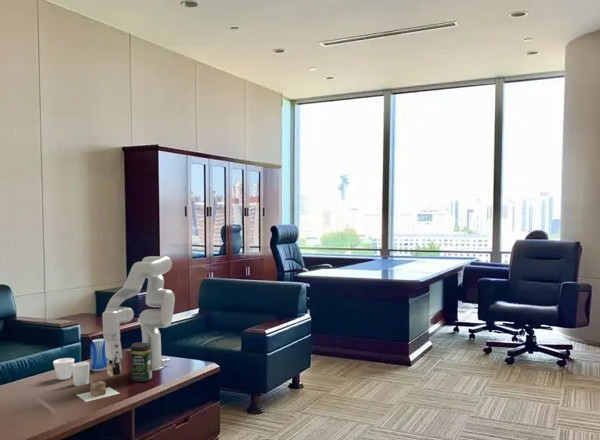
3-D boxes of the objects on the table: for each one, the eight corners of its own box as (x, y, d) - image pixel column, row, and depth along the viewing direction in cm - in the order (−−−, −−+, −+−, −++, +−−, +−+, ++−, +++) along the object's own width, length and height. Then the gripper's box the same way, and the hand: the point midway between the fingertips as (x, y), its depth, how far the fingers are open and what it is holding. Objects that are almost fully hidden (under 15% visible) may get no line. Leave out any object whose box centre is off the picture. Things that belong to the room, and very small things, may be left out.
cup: (78, 375, 271) (78, 357, 271) (68, 381, 261) (67, 363, 261) (60, 375, 272) (59, 358, 272) (49, 381, 262) (48, 363, 262)
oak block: (117, 371, 256) (116, 361, 255) (121, 373, 252) (120, 363, 252) (107, 374, 252) (106, 364, 252) (111, 376, 248) (110, 366, 248)
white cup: (69, 385, 254) (68, 365, 254) (82, 381, 261) (81, 361, 261) (80, 387, 250) (79, 366, 251) (93, 382, 257) (92, 362, 257)
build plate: (109, 389, 245) (109, 387, 245) (120, 396, 235) (120, 393, 235) (76, 397, 235) (76, 394, 235) (86, 404, 226) (86, 401, 226)
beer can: (90, 368, 283) (89, 339, 284) (107, 366, 287) (106, 337, 287) (91, 372, 276) (90, 342, 276) (108, 370, 279) (107, 340, 279)
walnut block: (101, 391, 239) (101, 380, 239) (105, 394, 235) (105, 382, 235) (90, 394, 236) (90, 383, 236) (94, 396, 232) (94, 385, 232)
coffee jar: (128, 382, 256) (127, 344, 256) (136, 377, 264) (135, 340, 264) (147, 382, 254) (145, 344, 255) (154, 377, 262) (153, 340, 262)
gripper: (126, 337, 247) (129, 375, 248) (112, 331, 260) (115, 367, 261) (110, 340, 242) (113, 379, 243) (97, 334, 255) (100, 371, 256)
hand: (114, 373), depth 252 cm, fingers closed on oak block, 5 cm apart
